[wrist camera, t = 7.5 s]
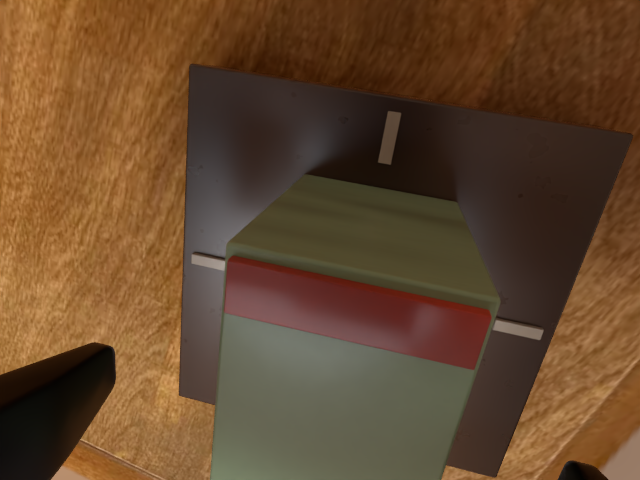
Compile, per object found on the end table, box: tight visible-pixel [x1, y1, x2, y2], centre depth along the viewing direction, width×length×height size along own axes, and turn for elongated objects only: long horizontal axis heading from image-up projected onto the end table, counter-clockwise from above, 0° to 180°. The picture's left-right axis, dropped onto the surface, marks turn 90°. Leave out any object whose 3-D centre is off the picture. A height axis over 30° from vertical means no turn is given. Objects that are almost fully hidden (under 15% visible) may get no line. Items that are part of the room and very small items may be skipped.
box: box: [210, 174, 501, 480], centre depth 11 cm, size 7×4×6 cm, turn 172°
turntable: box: [179, 64, 633, 478], centre depth 15 cm, size 12×12×2 cm
